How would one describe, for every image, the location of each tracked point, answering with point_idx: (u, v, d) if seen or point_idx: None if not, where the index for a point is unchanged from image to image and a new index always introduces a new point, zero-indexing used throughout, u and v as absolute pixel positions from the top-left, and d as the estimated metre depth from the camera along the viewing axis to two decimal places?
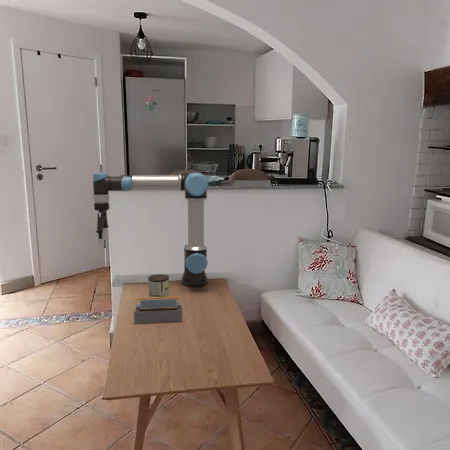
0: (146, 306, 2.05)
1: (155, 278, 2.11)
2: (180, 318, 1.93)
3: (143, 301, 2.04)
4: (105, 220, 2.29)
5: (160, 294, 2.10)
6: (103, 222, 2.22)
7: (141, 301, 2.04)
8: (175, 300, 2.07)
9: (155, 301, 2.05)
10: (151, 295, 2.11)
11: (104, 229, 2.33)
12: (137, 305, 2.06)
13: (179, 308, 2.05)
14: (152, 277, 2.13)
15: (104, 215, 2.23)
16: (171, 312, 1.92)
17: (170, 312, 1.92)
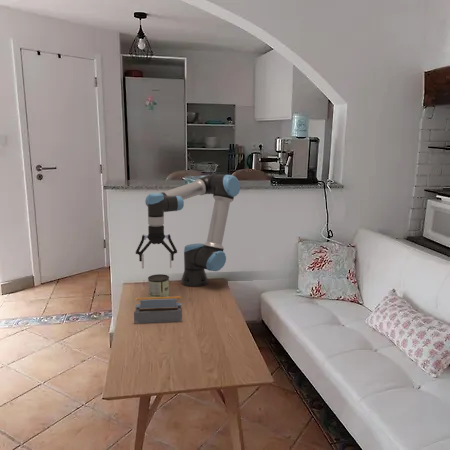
0: (146, 306, 2.05)
1: (155, 278, 2.11)
2: (180, 318, 1.93)
3: (143, 301, 2.04)
4: None
5: (160, 294, 2.10)
6: (148, 245, 2.09)
7: (141, 301, 2.04)
8: (175, 300, 2.07)
9: (155, 301, 2.05)
10: (151, 295, 2.11)
11: None
12: (137, 305, 2.06)
13: (179, 308, 2.05)
14: (152, 277, 2.13)
15: (151, 239, 2.09)
16: (171, 312, 1.92)
17: (170, 312, 1.92)
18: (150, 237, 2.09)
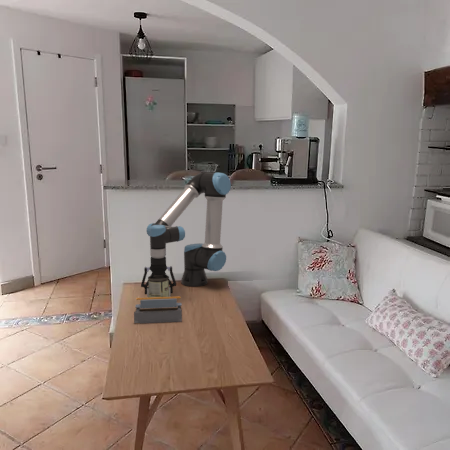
0: (146, 306, 2.05)
1: (155, 278, 2.11)
2: (180, 318, 1.93)
3: (143, 301, 2.04)
4: None
5: (160, 294, 2.10)
6: (151, 277, 2.12)
7: (141, 301, 2.04)
8: (175, 300, 2.07)
9: (155, 301, 2.05)
10: (151, 295, 2.11)
11: None
12: (137, 305, 2.06)
13: (179, 308, 2.05)
14: None
15: (153, 270, 2.11)
16: (171, 312, 1.92)
17: (170, 312, 1.92)
18: (152, 268, 2.11)
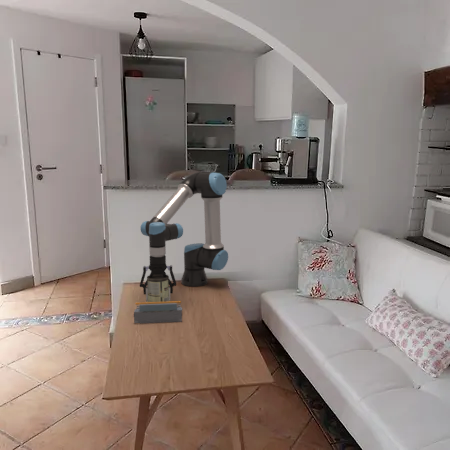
0: None
1: (154, 278, 2.03)
2: (180, 318, 1.93)
3: (142, 306, 1.98)
4: None
5: (159, 294, 2.02)
6: (150, 277, 2.03)
7: (140, 306, 1.98)
8: (175, 305, 2.00)
9: (155, 306, 1.99)
10: (150, 295, 2.03)
11: None
12: (136, 310, 2.00)
13: None
14: None
15: (153, 270, 2.03)
16: (171, 312, 1.92)
17: (170, 312, 1.92)
18: (151, 267, 2.03)
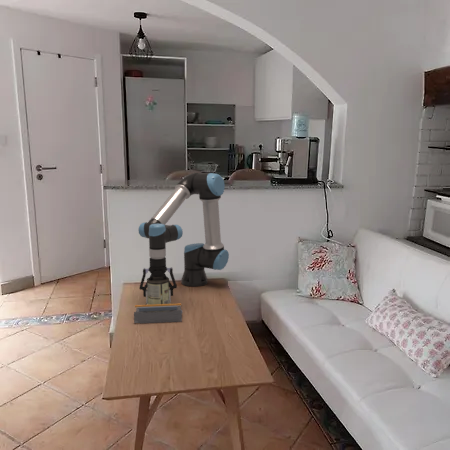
0: None
1: (154, 280, 2.00)
2: (180, 318, 1.93)
3: (142, 308, 1.95)
4: (164, 279, 2.01)
5: (159, 297, 1.98)
6: (150, 279, 2.00)
7: (140, 308, 1.95)
8: (175, 307, 1.97)
9: (155, 308, 1.96)
10: (150, 298, 1.99)
11: None
12: None
13: (179, 308, 2.05)
14: None
15: (153, 272, 1.99)
16: (171, 312, 1.92)
17: (170, 312, 1.92)
18: (151, 270, 2.00)
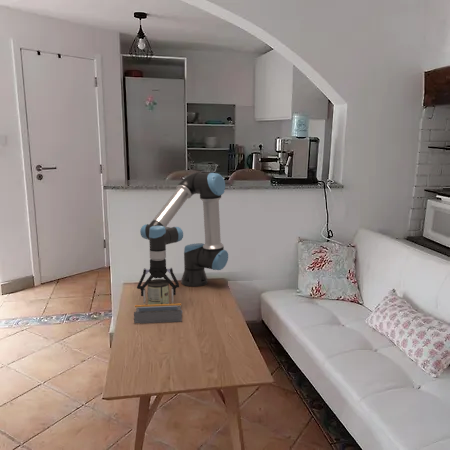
0: None
1: (154, 283, 2.03)
2: (180, 318, 1.93)
3: (142, 308, 1.95)
4: (165, 279, 2.04)
5: (159, 300, 2.02)
6: (149, 280, 2.03)
7: (140, 308, 1.95)
8: (175, 307, 1.97)
9: (155, 308, 1.96)
10: (150, 301, 2.03)
11: None
12: None
13: (179, 308, 2.05)
14: (151, 282, 2.05)
15: (153, 273, 2.02)
16: (171, 312, 1.92)
17: (170, 312, 1.92)
18: (152, 271, 2.03)
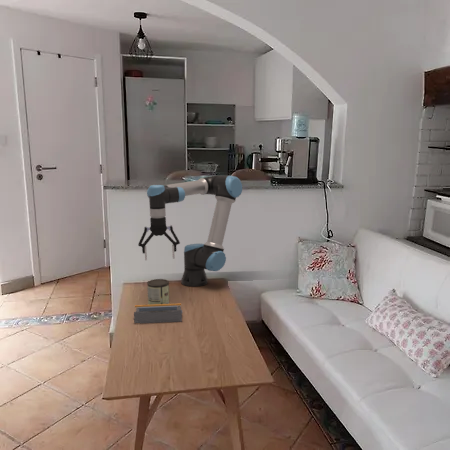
0: None
1: (154, 283, 2.03)
2: (180, 318, 1.93)
3: (142, 308, 1.95)
4: None
5: (159, 300, 2.02)
6: (150, 237, 2.10)
7: (140, 308, 1.95)
8: (175, 307, 1.97)
9: (155, 308, 1.96)
10: (150, 301, 2.03)
11: (172, 246, 2.14)
12: None
13: (179, 308, 2.05)
14: (151, 282, 2.05)
15: (154, 230, 2.10)
16: (171, 312, 1.92)
17: (170, 312, 1.92)
18: (152, 229, 2.10)
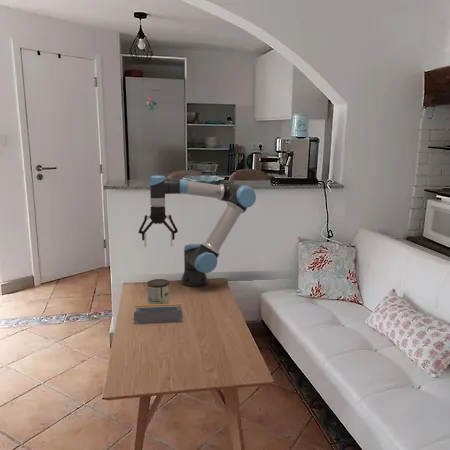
0: None
1: (154, 283, 2.03)
2: (180, 318, 1.93)
3: (142, 308, 1.95)
4: (165, 225, 2.22)
5: (159, 300, 2.02)
6: (150, 225, 2.21)
7: (140, 308, 1.95)
8: (175, 307, 1.97)
9: (155, 308, 1.96)
10: (150, 301, 2.03)
11: None
12: None
13: (179, 308, 2.05)
14: (151, 282, 2.05)
15: (153, 218, 2.21)
16: (171, 312, 1.92)
17: (170, 312, 1.92)
18: (152, 217, 2.21)
